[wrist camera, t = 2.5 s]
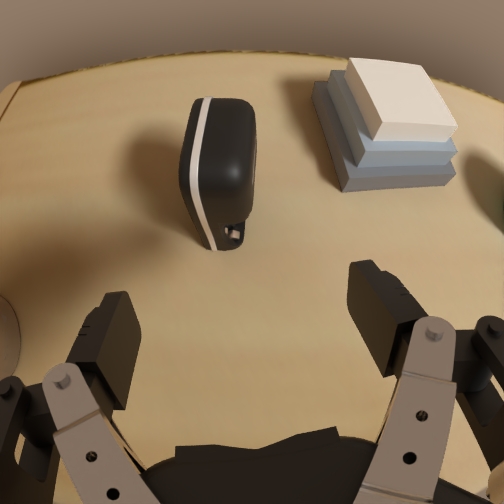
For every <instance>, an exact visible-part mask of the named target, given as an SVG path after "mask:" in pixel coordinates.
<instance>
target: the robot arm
mask: <svg viewBox="0 0 504 504" xmlns="http://www.w3.org/2000/svg"><path fill="white" fill-rule="evenodd" d="M347 306H348V310H349V313H350V315H351V317H352V319H353V321H354V323H355V325H356V327H357V328H358V330H359V332H360V334H361V336H362V338H363V340H364V342H365V343H366V345H367V347H368V349H369V351H370V353H371V355H372V357H373V359H374V361H375V363H376V365H377V367H378V369H379V371H380V373H381V374H382V376H383V378H384V377H388V376H392V375H395V376H396V378H397V382H396V384H395V388H394V391H393V394H392V397H391V400H390V403H389V406H388V409H387V411H386V414H385V417H384V420H383V422H382V425H381V428H380V430H379V433H378V435H377V437H376V440H375V442H372V441H368V440H365V439H361V438H356V437H347V436H339V434H338V431H337V428H336V426H335V427H330V428H326V429H321V430H317V431H312V432H306V433H301V434H297V435H294V436H292V437H289V438H287V439H284V440H282V441H279V442H276V443H274V444H271V445H268V446H266V447H263V448H260V449H246V448H237V447H229V446H221V445H196V446H175V457H172V458H169V459H166V460H163V461H161V462H159V463H157V464H154V465H153V466H151V467H150V468H148V469H147V468H146V467H145V465H144V464H143V463H142V462H141V460H140V459H139V458H138V456H137V455H136V454H135V452H134V451H133V449H132V448H131V446H130V445H129V443H128V442H127V440H126V439H125V437H124V436H123V434H122V433H121V431H120V429H119V428H118V426H117V425H116V423H115V421H114V420H113V419H112V413H113V410H125V409H126V404H127V399H128V394H129V389H130V385H131V380H132V376H133V372H134V367H135V363H136V359H137V355H138V351H139V346H140V342H141V328H140V324H139V321H138V319H137V316H136V313H135V311H134V308H133V305H132V302H131V300H130V297H129V294H128V293H127V292H126V291H120V292H110V293H106V294H105V296H104V298H103V300H102V302H101V304H100V306H99V307H95V308H94V309H93V310H92V311H91V312H90V313H89V314H88V315H87V317H86V319H85V321H84V323H83V325H82V328H81V329H80V331H79V333H78V336H77V338H76V340H75V342H74V344H73V346H72V348H71V351H70V353H69V355H68V358H67V360H66V362H65V363H62V364H59V365H56V366H55V367H53V368H52V369H50V370H49V371H48V372H47V374H46V375H45V377H44V379H43V382H42V383H39V384H35V385H31V386H25V385H24V384H23V382H22V381H21V380H20V378H18V377H16V376H11V375H12V374H13V372H14V370H15V368H16V365H17V362H18V359H19V353H20V332H19V326H18V322H17V318H16V316H15V313H14V311H13V309H12V307H11V306H10V304H9V303H8V302H7V301H6V300H5V299H4V298H2V297H1V296H0V504H53V496H54V490H55V483H56V477H57V472H58V466H59V461H60V456H61V458H62V460H63V463H64V465H65V467H66V469H67V472H68V474H69V476H70V478H71V480H72V482H73V484H74V486H75V488H76V490H77V492H78V494H79V496H80V498H81V500H82V502H83V504H504V401H503V400H502V398H501V396H500V395H499V393H498V391H497V390H496V388H495V387H494V385H493V383H492V382H491V380H490V379H491V377H492V375H494V377H495V378H496V380H497V381H498V383H499V384H500V386H501V388H502V389H503V391H504V320H502V319H501V318H498V317H495V316H484V317H481V318H480V319H479V320H478V322H477V324H476V327H475V329H474V330H455V329H454V327H453V326H452V325H451V324H450V323H449V322H448V321H446V320H444V319H442V318H439V317H434V316H428V314H427V313H426V312H425V311H424V309H423V308H422V307H421V306H420V304H419V303H418V302H417V301H416V299H415V298H414V297H413V296H412V295H411V294H410V293H409V291H408V290H407V289H406V287H404V285H403V284H402V283H401V282H400V280H399V279H398V278H397V277H396V276H394V275H392V274H391V273H389V272H387V271H381V270H380V269H379V268H378V267H377V265H376V264H375V263H374V262H373V261H372V260H363V261H357V262H351V264H350V266H349V278H348V290H347ZM455 398H456V400H457V402H458V404H459V406H460V407H461V409H462V411H463V413H464V415H465V417H466V419H467V421H468V423H469V425H470V427H471V429H472V431H473V433H474V435H475V438H476V440H477V442H478V444H479V446H480V448H481V450H482V452H483V455H484V457H485V459H486V461H487V464H488V466H489V468H490V471H491V474H490V476H489V480H488V488H487V491H486V496H487V498H488V499H490V501H488V500H486V499H484V498H481V497H479V496H477V495H475V494H472V493H470V492H468V491H466V490H464V489H462V488H460V487H458V486H455V485H453V484H451V483H449V482H447V481H445V480H443V479H441V478H439V474H440V470H441V466H442V462H443V458H444V454H445V450H446V445H447V441H448V436H449V431H450V426H451V421H452V415H453V409H454V402H455ZM20 433H21V434H22V435H23V436H24V437H25V442H24V445H23V449H22V453H21V457H20V461H19V465H18V464H17V462H16V460H15V455H14V452H15V448H16V444H17V441H18V437H19V434H20Z"/></svg>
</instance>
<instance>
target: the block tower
mask: <svg viewBox="0 0 504 504" xmlns="http://www.w3.org/2000/svg"><path fill="white" fill-rule="evenodd" d="M311 98H312V101H313V103H314V106H315V109H316V112H317V115H318V117H319V120H320V123H321V126H322V129H323V132H324V135H325V138H326V141H327V144H328V147H329V150H330V154H331V157H332V160H333V163H334V166H335V170H336V173H337V176H338V180H339V183H340V187H341V190H342V192H354V191H367V190H380V189H394V188H410V187H428V186H445V185H446V184H447V183H448V182H449V181H450V180H451V179H452V178H453V177H454V176H455V175H456V172H455V170H454V167H453V165H452V163H451V161H450V160H451V158H452V157H453V156H454V155H455V154H456V153H457V152H458V151H457V149H456V147H455V145H454V143H453V141H452V139H451V137H450V136H451V135H452V134H453V133H454V131H455V130H456V129H457V127H458V125H457V123H456V122H455V120H454V118H453V116H452V114H451V113H450V111H449V109H448V107H447V106H446V104H445V102H444V101H443V99H442V97H441V96H440V94H439V92H438V91H437V89H436V88H435V86H434V84H433V83H432V81H431V80H430V78H429V77H428V75H427V74H426V72H425V71H424V69H423V68H422V66H419V65H414V64H407V63H400V62H392V61H383V60H373V59H362V58H349V61H348V65H347V68H346V71H345V70H331V73H330V77H329V81H315V83H314V88H313V93H312V97H311Z"/></svg>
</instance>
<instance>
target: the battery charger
mask: <svg viewBox="0 0 504 504" xmlns="http://www.w3.org/2000/svg"><path fill="white" fill-rule="evenodd" d="M256 153H257V139H256V121H255V112H254V110H253V107H252V106H251V105H250V104H249V103H248V102H246V101H244V100H242V99H233V98H213V97H212V96H209V97H205V98H200V99H196V100H195V102H194V103H193V105H192V108H191V112H190V116H189V120H188V124H187V128H186V132H185V137H184V141H183V146H182V151H181V156H180V162H179V186H180V190H181V194H182V197H183V199H184V202H185V204H186V207H187V209H188V212H189V214H190V216H191V218H192V221H193V223H194V225H195V227H196V229H197V231H198V232H199V234H200V237H201V239H202V242H203V244H204V247H205V248H206V249H208V250H212V251H218V250H222V251H227V250H233V249H236V248H238V247H239V246H240V245H241V244H242V242H243V239H244V231H245V220H246V219H247V218H248V216H249V214H250V212H251V211H252V206H253V196H254V181H255V167H256Z"/></svg>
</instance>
